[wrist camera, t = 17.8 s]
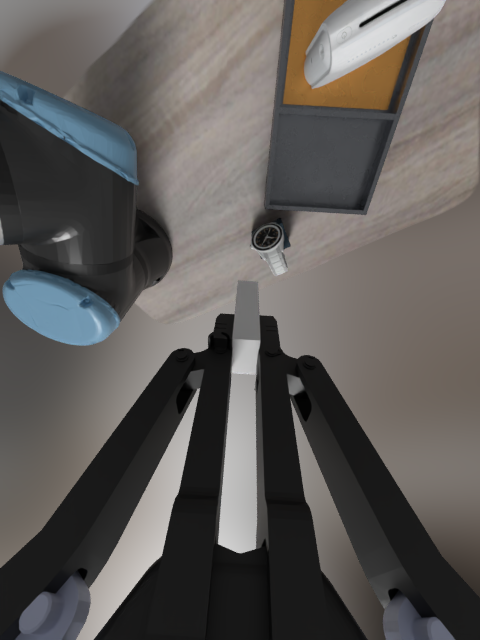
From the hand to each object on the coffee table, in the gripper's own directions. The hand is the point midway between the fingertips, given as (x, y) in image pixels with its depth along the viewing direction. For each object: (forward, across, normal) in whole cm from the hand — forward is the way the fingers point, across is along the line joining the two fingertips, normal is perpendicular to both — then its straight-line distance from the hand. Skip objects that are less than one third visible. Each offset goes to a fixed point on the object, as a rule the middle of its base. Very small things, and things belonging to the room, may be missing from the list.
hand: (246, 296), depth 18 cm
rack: (+28, -10, -13) cm, 33 cm away
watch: (+29, -4, +4) cm, 29 cm away
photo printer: (+27, -10, -19) cm, 35 cm away
